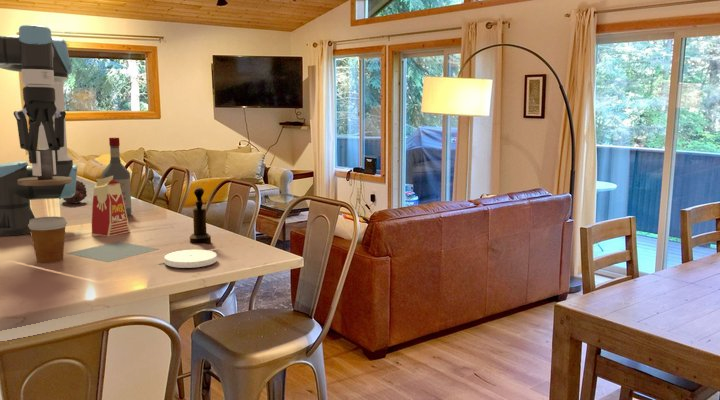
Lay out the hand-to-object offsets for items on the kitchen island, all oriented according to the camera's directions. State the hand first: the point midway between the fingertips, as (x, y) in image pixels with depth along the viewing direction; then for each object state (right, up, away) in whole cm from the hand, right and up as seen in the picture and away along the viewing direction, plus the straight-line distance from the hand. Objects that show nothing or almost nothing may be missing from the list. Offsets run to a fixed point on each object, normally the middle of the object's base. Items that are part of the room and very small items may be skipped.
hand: (44, 174), depth 162 cm
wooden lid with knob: (0, -2, 0) cm, 2 cm away
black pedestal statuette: (+34, -21, +29) cm, 49 cm away
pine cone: (-39, -8, +99) cm, 107 cm away
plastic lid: (+38, -25, +5) cm, 46 cm away
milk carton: (+1, -19, +39) cm, 43 cm away
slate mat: (+13, -22, +15) cm, 30 cm away
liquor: (-10, -13, +74) cm, 75 cm away
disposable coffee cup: (-1, -24, +4) cm, 24 cm away
